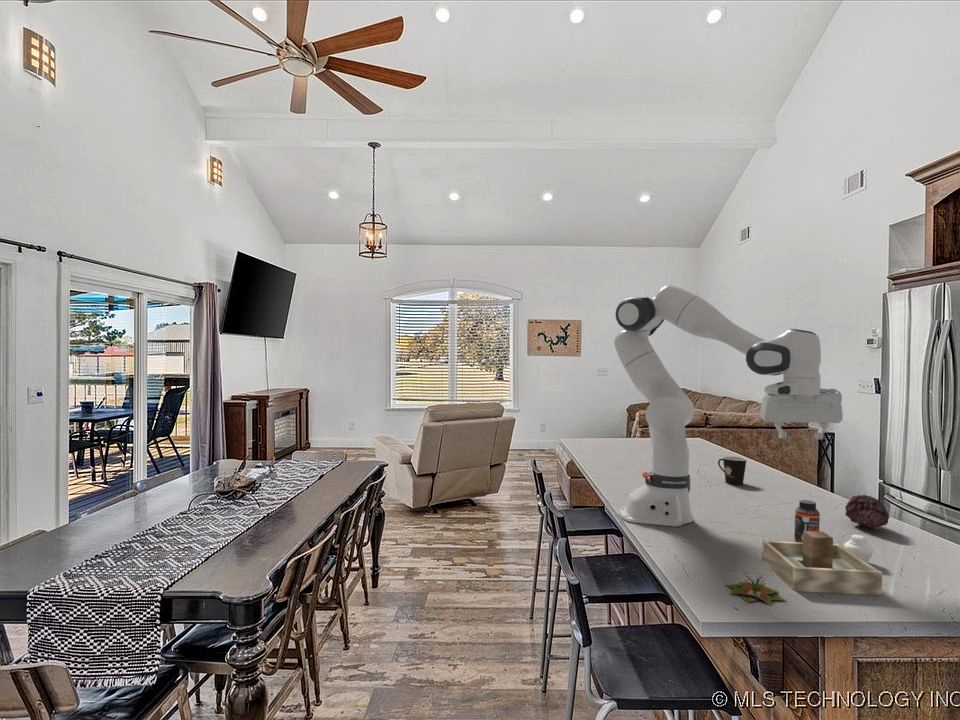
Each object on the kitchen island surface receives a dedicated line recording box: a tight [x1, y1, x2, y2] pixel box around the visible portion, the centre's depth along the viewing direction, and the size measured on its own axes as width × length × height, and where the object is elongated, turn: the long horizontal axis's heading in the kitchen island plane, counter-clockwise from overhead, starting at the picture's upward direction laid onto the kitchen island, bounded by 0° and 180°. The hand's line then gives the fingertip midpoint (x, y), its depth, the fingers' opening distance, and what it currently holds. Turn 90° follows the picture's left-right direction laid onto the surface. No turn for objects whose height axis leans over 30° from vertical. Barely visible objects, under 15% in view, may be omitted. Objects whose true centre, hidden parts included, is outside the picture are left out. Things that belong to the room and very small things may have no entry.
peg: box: [803, 531, 834, 569], centre depth 130 cm, size 4×4×10 cm
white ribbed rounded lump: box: [843, 534, 875, 563], centre depth 140 cm, size 6×6×7 cm
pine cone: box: [845, 494, 890, 529], centre depth 167 cm, size 18×10×10 cm, turn 170°
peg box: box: [761, 540, 883, 596], centre depth 130 cm, size 18×18×5 cm
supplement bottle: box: [793, 499, 821, 542], centre depth 154 cm, size 6×6×11 cm
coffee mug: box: [717, 456, 747, 486], centre depth 224 cm, size 12×9×10 cm
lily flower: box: [725, 571, 787, 606], centre depth 121 cm, size 12×12×5 cm
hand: (800, 438), depth 152 cm, fingers open, 8 cm apart
